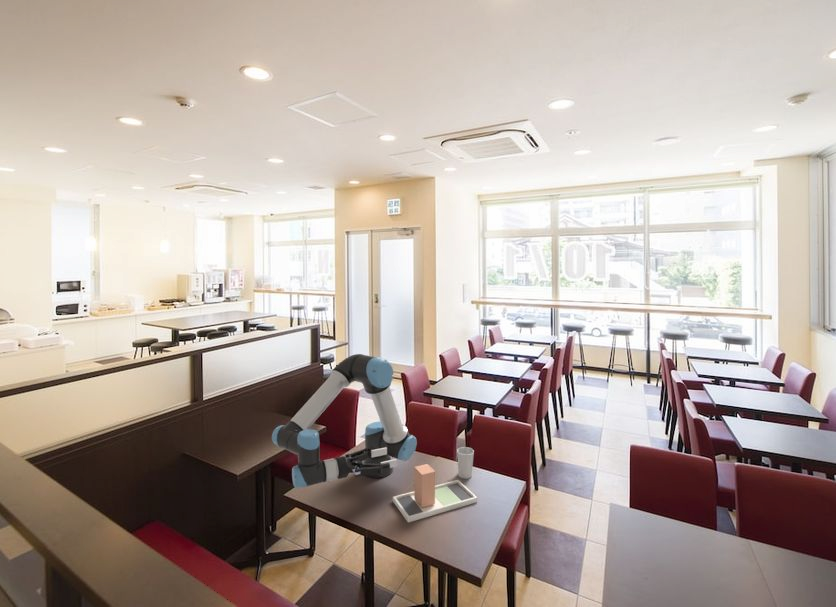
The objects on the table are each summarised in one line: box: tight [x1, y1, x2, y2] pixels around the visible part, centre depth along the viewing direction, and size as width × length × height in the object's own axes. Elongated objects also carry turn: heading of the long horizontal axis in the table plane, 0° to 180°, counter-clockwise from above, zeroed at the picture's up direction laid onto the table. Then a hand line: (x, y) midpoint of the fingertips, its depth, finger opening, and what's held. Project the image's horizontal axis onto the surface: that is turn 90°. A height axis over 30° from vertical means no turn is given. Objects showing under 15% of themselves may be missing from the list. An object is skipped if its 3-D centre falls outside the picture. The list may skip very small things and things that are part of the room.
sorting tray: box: [392, 479, 478, 523], centre depth 171 cm, size 16×32×2 cm, turn 116°
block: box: [413, 463, 436, 507], centre depth 168 cm, size 7×6×14 cm
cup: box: [456, 446, 475, 479], centre depth 192 cm, size 8×8×12 cm
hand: (391, 456), depth 160 cm, fingers open, 10 cm apart
